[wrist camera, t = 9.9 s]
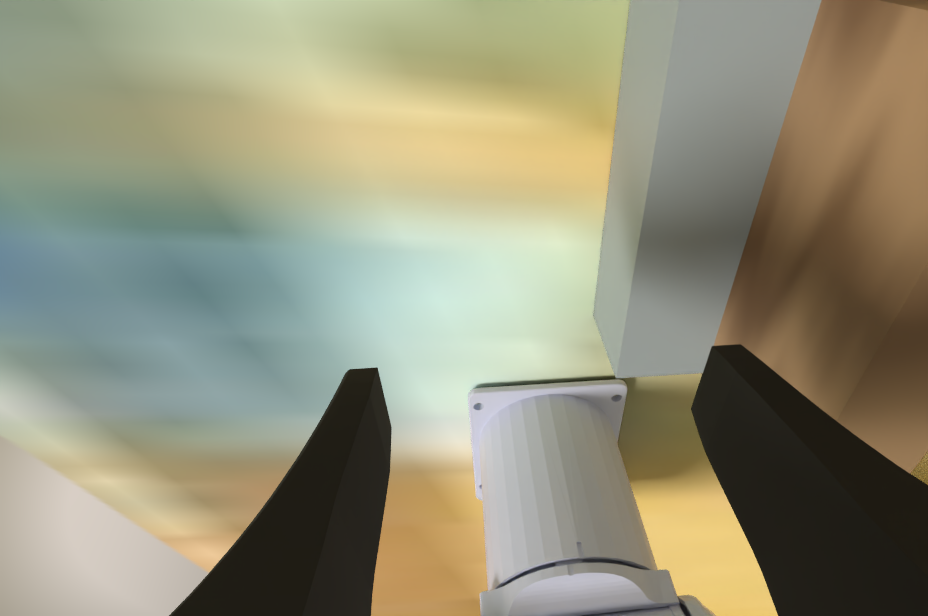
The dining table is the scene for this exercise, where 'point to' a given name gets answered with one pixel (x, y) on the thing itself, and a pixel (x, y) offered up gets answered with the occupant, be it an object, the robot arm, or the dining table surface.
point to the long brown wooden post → (848, 230)
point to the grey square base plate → (690, 170)
